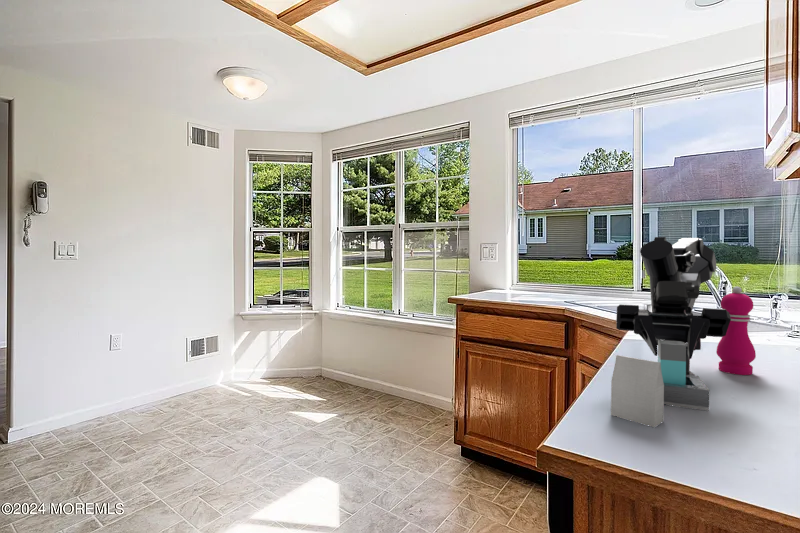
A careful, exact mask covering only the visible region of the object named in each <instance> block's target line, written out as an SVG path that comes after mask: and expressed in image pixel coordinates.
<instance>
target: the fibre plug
mask: <svg viewBox="0 0 800 533" xmlns="http://www.w3.org/2000/svg"><path fill="white" fill-rule="evenodd" d="M657 351H658V354H657V362H660V363H661V371H662V378H663V383H671V384H680V385H686V345H685V344H684V343H683V342H682V341H668V340H658V345H657Z"/></svg>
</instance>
